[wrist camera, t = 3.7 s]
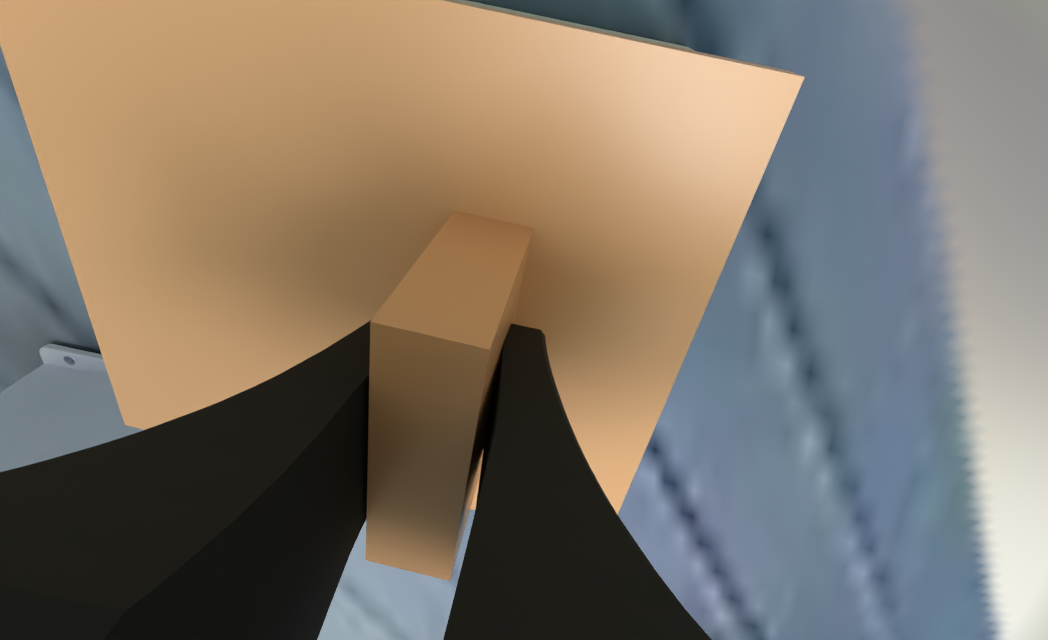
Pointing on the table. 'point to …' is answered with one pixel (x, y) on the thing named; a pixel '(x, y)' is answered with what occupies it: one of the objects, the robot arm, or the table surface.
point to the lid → (392, 214)
